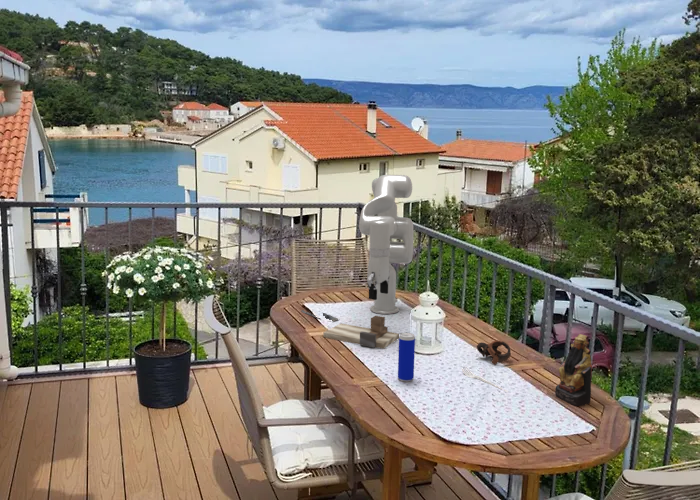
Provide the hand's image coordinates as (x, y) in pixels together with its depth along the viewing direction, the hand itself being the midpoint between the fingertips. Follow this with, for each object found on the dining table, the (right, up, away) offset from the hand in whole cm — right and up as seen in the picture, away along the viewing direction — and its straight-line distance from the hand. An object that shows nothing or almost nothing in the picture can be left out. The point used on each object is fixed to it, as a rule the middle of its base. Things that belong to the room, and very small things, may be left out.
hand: (378, 296), depth 241 cm
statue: (+57, -28, -49) cm, 81 cm away
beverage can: (+7, -25, -35) cm, 43 cm away
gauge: (-1, -17, +1) cm, 17 cm away
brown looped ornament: (+40, -22, -16) cm, 48 cm away
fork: (+33, -26, -36) cm, 55 cm away
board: (-6, -17, +6) cm, 19 cm away
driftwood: (-24, -12, +35) cm, 44 cm away
